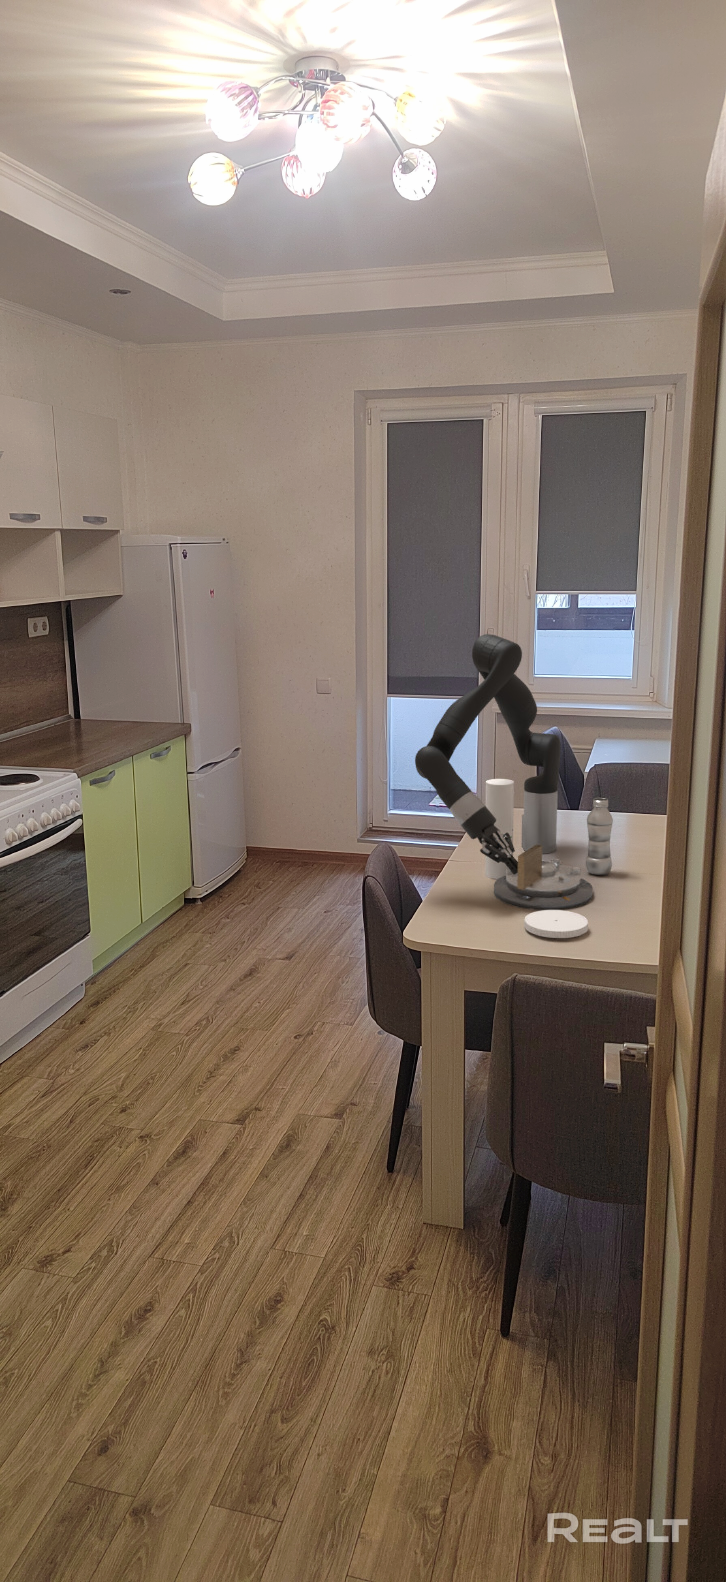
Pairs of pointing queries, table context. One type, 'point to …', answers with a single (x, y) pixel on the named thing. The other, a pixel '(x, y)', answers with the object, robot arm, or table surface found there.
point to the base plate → (543, 902)
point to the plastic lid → (556, 924)
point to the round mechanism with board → (542, 876)
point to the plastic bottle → (599, 838)
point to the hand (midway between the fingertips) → (518, 871)
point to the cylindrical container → (499, 818)
